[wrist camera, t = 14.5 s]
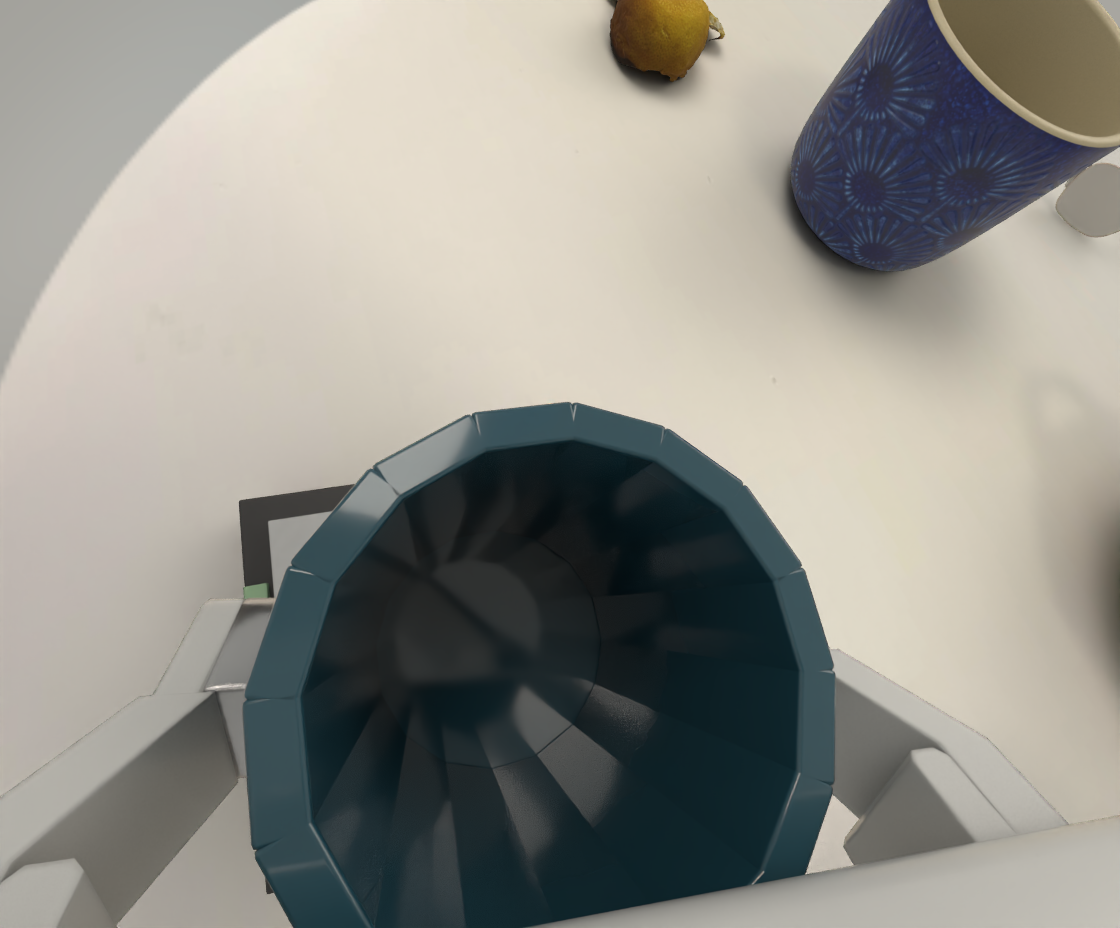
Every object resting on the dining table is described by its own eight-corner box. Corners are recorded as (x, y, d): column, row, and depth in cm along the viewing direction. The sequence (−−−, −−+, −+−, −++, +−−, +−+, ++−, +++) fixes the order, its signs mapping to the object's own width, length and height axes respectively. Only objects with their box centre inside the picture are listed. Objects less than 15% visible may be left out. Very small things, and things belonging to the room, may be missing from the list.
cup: (376, 821, 11) (273, 1234, 4) (343, 540, 13) (221, 437, 5) (634, 739, 13) (913, 910, 6) (581, 500, 14) (748, 380, 7)
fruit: (721, 27, 35) (753, -37, 31) (702, 113, 32) (735, 53, 29) (607, -29, 33) (627, -102, 30) (577, 56, 31) (595, -14, 27)
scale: (287, 858, 18) (259, 907, 15) (259, 512, 20) (231, 496, 17) (657, 738, 22) (693, 758, 19) (594, 463, 24) (617, 443, 21)
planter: (944, 192, 36) (1150, 26, 26) (916, 329, 32) (1149, 194, 21) (794, 99, 35) (947, -115, 24) (743, 228, 30) (903, 35, 20)
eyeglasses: (957, 140, 38) (1016, 86, 34) (973, 90, 41) (1028, 37, 38) (1104, 252, 39) (1177, 211, 35) (1108, 194, 42) (1175, 151, 38)
